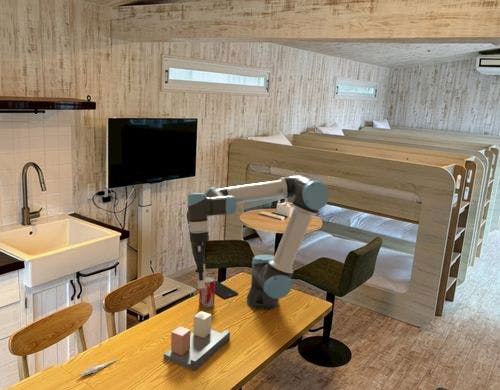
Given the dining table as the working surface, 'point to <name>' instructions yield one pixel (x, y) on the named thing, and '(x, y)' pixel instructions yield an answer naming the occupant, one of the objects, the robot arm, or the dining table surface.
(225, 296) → the cell phone
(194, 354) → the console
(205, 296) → the soda can
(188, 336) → the reddish pink block
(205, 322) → the key cream
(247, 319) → the dining table surface
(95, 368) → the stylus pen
